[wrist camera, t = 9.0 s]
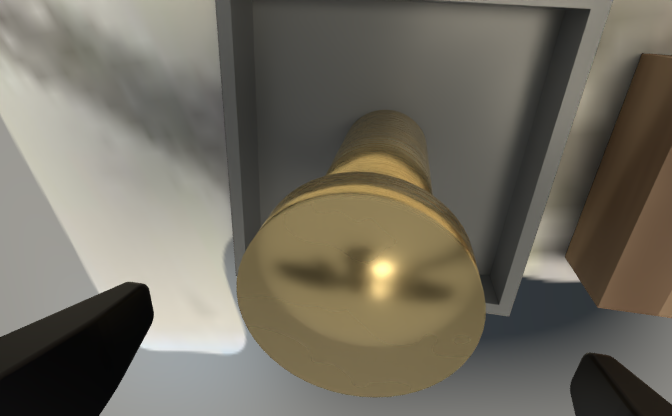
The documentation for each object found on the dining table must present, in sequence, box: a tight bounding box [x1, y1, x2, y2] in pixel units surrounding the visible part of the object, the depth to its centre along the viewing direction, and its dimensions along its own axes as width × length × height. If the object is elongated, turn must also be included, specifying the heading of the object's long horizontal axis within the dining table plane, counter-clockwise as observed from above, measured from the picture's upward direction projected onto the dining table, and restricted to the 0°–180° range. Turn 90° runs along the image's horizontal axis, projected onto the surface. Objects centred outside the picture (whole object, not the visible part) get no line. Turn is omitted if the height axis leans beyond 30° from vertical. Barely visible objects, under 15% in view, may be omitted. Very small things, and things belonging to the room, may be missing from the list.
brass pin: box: [237, 110, 486, 397], centre depth 14 cm, size 6×6×12 cm
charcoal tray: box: [215, 0, 613, 316], centre depth 18 cm, size 14×14×3 cm
